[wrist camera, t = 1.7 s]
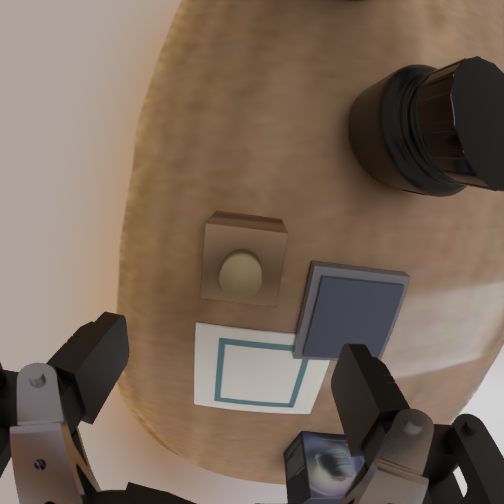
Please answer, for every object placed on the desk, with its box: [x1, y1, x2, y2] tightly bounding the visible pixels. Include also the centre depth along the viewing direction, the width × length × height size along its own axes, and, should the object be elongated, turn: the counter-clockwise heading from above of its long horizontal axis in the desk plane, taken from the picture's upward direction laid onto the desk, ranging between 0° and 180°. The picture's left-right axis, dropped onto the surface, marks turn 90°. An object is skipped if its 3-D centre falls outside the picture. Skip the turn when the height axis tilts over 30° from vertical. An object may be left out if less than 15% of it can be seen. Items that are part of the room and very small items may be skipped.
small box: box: [284, 431, 365, 504], centre depth 25 cm, size 11×6×10 cm, turn 72°
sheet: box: [194, 322, 330, 414], centre depth 26 cm, size 11×13×1 cm
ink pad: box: [292, 261, 410, 361], centre depth 23 cm, size 9×9×2 cm
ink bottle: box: [349, 56, 504, 197], centre depth 14 cm, size 10×9×12 cm
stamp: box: [200, 211, 288, 307], centre depth 19 cm, size 5×5×7 cm
